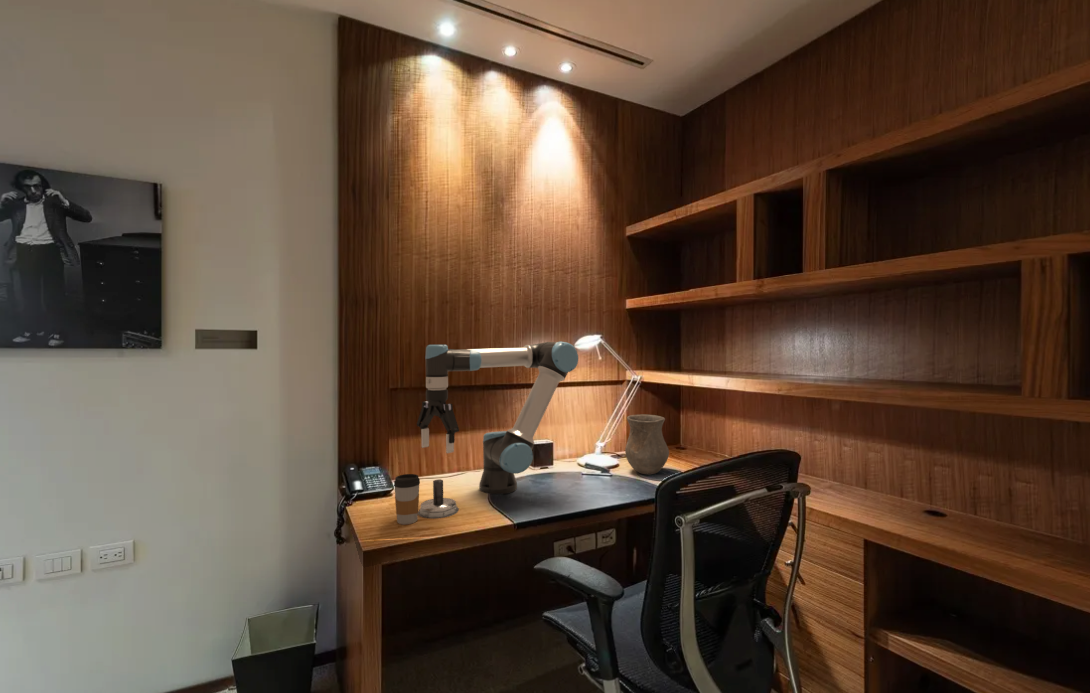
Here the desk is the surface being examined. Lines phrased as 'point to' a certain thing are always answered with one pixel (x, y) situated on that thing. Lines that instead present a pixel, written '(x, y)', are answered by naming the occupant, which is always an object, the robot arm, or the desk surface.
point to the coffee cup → (407, 498)
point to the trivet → (439, 517)
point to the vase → (646, 444)
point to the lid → (438, 503)
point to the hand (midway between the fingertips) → (437, 449)
